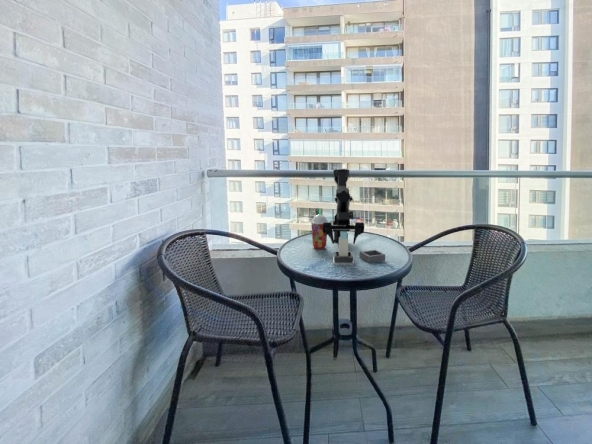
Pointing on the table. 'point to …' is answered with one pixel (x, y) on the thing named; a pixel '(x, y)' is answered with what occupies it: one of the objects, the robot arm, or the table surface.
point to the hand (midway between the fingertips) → (343, 243)
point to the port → (343, 259)
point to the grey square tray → (372, 256)
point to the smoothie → (318, 231)
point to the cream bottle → (343, 244)
